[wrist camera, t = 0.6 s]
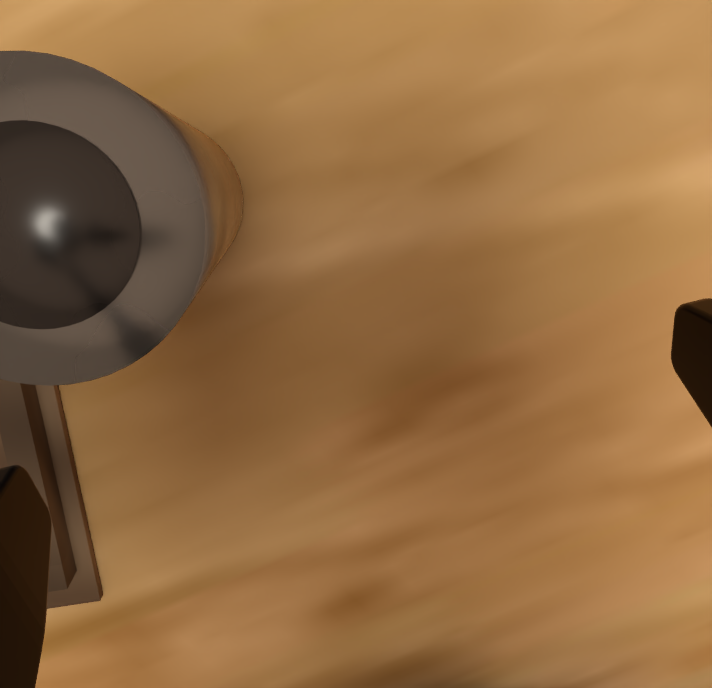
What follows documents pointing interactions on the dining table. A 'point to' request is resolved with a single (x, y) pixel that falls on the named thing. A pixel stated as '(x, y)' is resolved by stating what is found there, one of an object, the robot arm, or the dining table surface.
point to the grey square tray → (51, 485)
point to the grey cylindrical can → (99, 220)
